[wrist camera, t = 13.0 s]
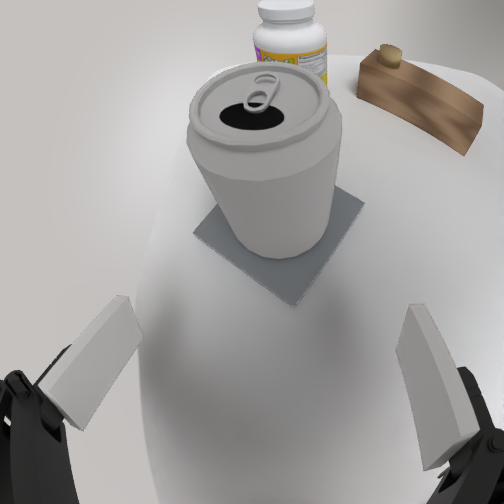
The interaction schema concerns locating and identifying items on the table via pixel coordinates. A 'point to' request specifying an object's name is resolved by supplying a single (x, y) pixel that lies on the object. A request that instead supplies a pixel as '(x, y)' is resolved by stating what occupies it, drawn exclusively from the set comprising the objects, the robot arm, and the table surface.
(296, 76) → the can
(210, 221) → the trivet
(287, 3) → the supplement bottle
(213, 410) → the table surface
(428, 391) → the robot arm
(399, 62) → the walnut block
